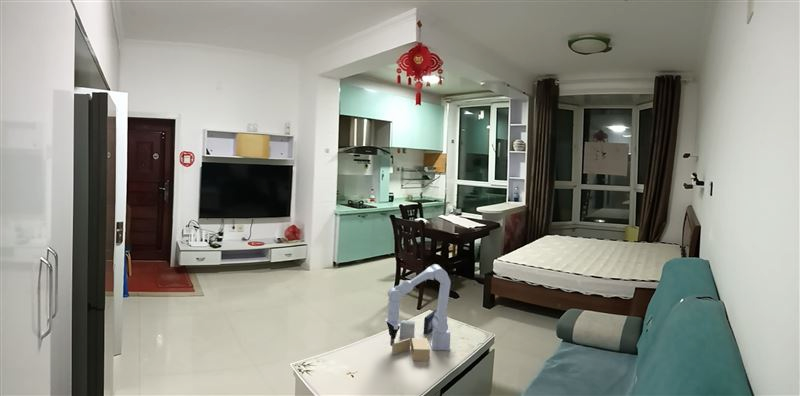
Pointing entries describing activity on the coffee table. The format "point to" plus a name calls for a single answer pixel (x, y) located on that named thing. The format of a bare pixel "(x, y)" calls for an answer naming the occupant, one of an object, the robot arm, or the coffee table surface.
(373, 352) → the coffee table surface
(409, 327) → the medicine box
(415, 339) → the carton
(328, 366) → the coffee table surface
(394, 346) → the wooden box lid
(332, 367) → the coffee table surface
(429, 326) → the vhs cassette tape
